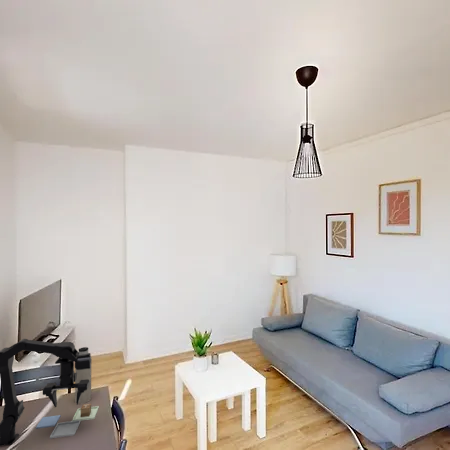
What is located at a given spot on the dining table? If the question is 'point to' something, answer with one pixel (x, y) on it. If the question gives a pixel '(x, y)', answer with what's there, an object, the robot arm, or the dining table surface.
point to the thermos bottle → (83, 376)
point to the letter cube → (85, 410)
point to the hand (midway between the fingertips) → (66, 405)
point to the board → (48, 421)
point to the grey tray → (65, 429)
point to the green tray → (92, 416)
